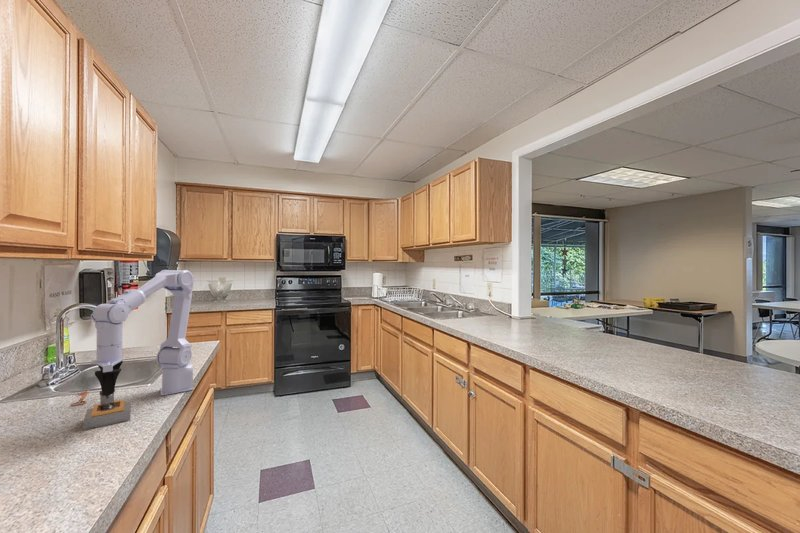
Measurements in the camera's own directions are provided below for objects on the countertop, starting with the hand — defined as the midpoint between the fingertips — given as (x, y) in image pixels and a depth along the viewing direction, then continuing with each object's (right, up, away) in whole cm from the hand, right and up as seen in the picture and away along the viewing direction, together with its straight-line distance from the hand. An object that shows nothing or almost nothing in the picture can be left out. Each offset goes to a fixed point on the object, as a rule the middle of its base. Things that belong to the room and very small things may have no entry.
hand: (109, 390), depth 97 cm
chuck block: (0, -9, 0) cm, 9 cm away
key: (-23, -9, +15) cm, 29 cm away
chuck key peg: (-1, -6, 0) cm, 6 cm away
